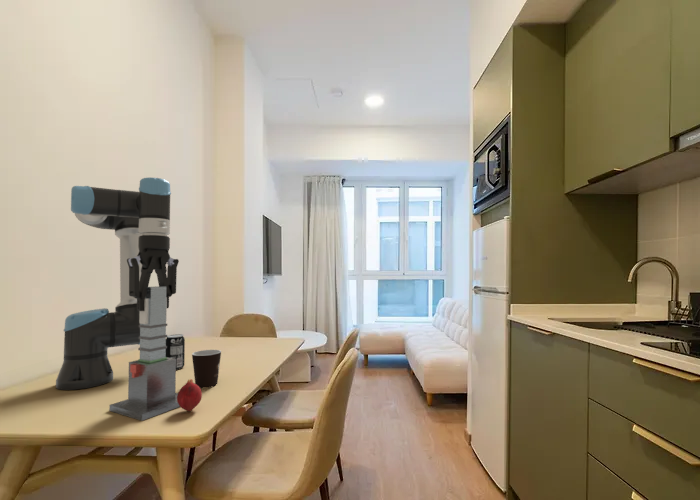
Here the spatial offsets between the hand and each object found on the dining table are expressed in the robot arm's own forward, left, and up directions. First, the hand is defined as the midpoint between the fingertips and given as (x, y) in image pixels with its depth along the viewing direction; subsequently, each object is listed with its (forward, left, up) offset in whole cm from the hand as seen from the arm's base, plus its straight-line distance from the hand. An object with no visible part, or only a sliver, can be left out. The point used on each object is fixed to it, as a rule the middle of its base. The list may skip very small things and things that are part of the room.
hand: (153, 322), depth 99 cm
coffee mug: (-3, +21, -22) cm, 31 cm away
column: (0, 0, -13) cm, 13 cm away
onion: (+12, +2, -22) cm, 26 cm away
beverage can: (-30, +28, -22) cm, 47 cm away
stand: (0, 0, -22) cm, 22 cm away
